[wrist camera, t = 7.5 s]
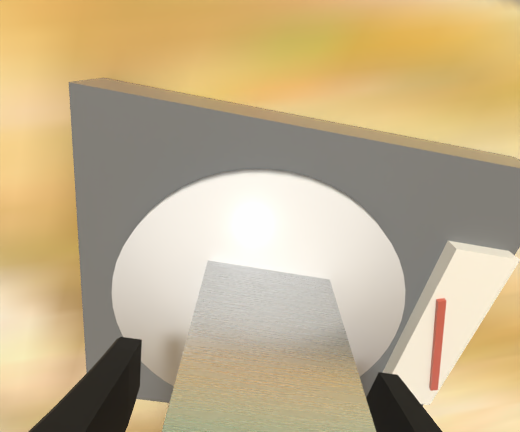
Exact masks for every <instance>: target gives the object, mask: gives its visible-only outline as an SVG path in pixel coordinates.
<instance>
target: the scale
mask: <svg viewBox="0 0 520 432" xmlns="http://www.w3.org/2000/svg"><path fill="white" fill-rule="evenodd" d="M69 93H70V109H71V126H72V142H73V158H74V174H75V190H76V207H77V223H78V239H79V255H80V272H81V288H82V304H83V320H84V337H85V353H86V369H87V373H88V371H89V370H90V369H91V368H92V367H93V366H94V365H95V364H96V363H97V362H98V360H99V359H100V358H101V357H102V356H103V355H104V354H105V352H106V351H107V350H108V349H109V348H110V347H111V345H112V344H113V343H114V342H115V341H116V339H118V338H119V337H126V338H134V339H141V340H142V347H141V372H140V388H139V391H138V395H137V398H136V399H142V400H150V401H159V402H167V403H170V399H171V395H172V392H173V388H174V384H175V381H176V377H177V373H178V369H179V366H180V362H181V358H182V355H183V351H184V347H185V343H186V340H187V336H188V332H189V329H190V325H191V321H192V317H193V314H194V310H195V306H196V302H197V299H198V295H199V291H200V288H201V284H202V280H203V276H204V273H205V269H206V265H207V262H208V260H209V261H216V262H222V263H228V264H235V265H241V266H247V267H254V268H260V269H266V270H273V271H279V272H285V273H292V274H298V275H304V276H311V277H317V278H323V279H330V282H331V285H332V289H333V292H334V295H335V298H336V302H337V305H338V308H339V312H340V315H341V318H342V321H343V325H344V328H345V331H346V334H347V338H348V341H349V344H350V347H351V351H352V354H353V357H354V360H355V364H356V367H357V370H358V374H359V377H360V380H361V383H362V387H363V390H364V393H365V396H366V397H367V395H368V393H369V391H370V389H371V387H372V385H373V383H374V381H375V379H376V377H377V375H378V373H379V372H382V373H389V374H396V375H398V376H399V377H400V378H401V379H402V381H403V382H404V383H405V384H406V386H407V387H408V388H409V390H410V391H411V392H412V393H413V395H414V396H415V397H416V399H417V400H418V401H419V403H420V404H421V405H422V406H423V404H426V405H430V404H431V402H432V401H433V399H434V397H435V396H436V394H437V393H438V391H439V389H440V388H441V386H442V385H443V383H444V381H445V380H446V378H447V376H448V375H449V373H450V372H451V370H452V368H453V367H454V365H455V364H456V362H457V360H458V359H459V357H460V356H461V354H462V352H463V351H464V349H465V348H466V346H467V344H468V343H469V341H470V340H471V338H472V336H473V335H474V333H475V332H476V330H477V328H478V327H479V325H480V324H481V322H482V320H483V319H484V317H485V316H486V314H487V312H488V311H489V309H490V308H491V306H492V304H493V303H494V301H495V299H496V298H497V296H498V295H499V293H500V291H501V290H502V288H503V287H504V285H505V283H506V282H507V280H508V279H509V277H510V275H511V274H512V272H513V271H514V269H515V267H516V266H517V264H518V263H519V261H520V259H519V258H517V257H516V256H515V253H516V252H517V250H518V249H519V247H520V160H519V159H517V158H514V157H511V156H505V155H500V154H495V153H490V152H485V151H479V150H474V149H469V148H464V147H459V146H454V145H448V144H443V143H438V142H433V141H428V140H423V139H417V138H412V137H407V136H402V135H397V134H392V133H386V132H381V131H376V130H371V129H366V128H361V127H355V126H350V125H345V124H340V123H335V122H330V121H324V120H319V119H314V118H309V117H304V116H298V115H293V114H288V113H283V112H278V111H273V110H267V109H262V108H257V107H252V106H247V105H242V104H236V103H231V102H226V101H221V100H216V99H211V98H205V97H200V96H195V95H190V94H185V93H180V92H174V91H169V90H164V89H159V88H154V87H149V86H143V85H138V84H133V83H128V82H123V81H118V80H112V79H107V78H99V79H90V80H82V81H74V82H69Z"/></svg>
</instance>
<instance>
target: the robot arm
mask: <svg viewBox="0 0 520 432" xmlns="http://www.w3.org/2000/svg"><path fill="white" fill-rule="evenodd" d="M141 347H142V340H141V339H134V338H126V337H119V338H118V339H116V341H115V342H114V343H113V344H112V345H111V347H110V348H109V349H108V350H107V351H106V352H105V354H104V355H103V356H102V357H101V358H100V359H99V360H98V362H97V363H96V364H95V365H94V366H93V367H92V368H91V369H90V370H89V371H88V373H87V374H86V375H85V376H84V377H83V378H82V379H81V380H80V381H79V382H78V383H77V384H76V385H75V386H74V387H73V388H72V389H71V390H70V391H69V393H68V394H67V395H66V396H65V397H64V398H63V399H62V400H61V401H60V402H59V403H58V404H57V405H56V406H55V407H54V408H53V409H52V410H51V411H50V412H49V413H48V414H47V415H46V416H44V417H43V418H42V419H41V420H40V421H39V422H38V423H37V424H36V425H35V426H34V427H33V428H32V429H31V430H30V431H29V432H125V431H126V428H127V426H128V423H129V420H130V417H131V414H132V411H133V407H134V404H135V401H136V398H137V395H138V391H139V388H140V372H141ZM366 400H367V403H368V406H369V409H370V413H371V416H372V419H373V423H374V426H375V429H376V432H442V431H441V430H440V428H439V427H438V426H437V424H436V423H435V422H434V421H433V419H432V418H431V417H430V415H429V414H428V413H427V412H426V410H425V409H424V408H423V406H422V405H421V404H420V403H419V401H418V400H417V399H416V397H415V396H414V395H413V393H412V392H411V391H410V390H409V388H408V387H407V386H406V384H405V383H404V382H403V381H402V379H401V378H400V377H399V376H398V375H396V374H389V373H382V372H379V373H378V375H377V377H376V379H375V381H374V383H373V385H372V387H371V389H370V391H369V393H368V395H367V397H366Z"/></svg>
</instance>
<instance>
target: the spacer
mask: <svg viewBox="0 0 520 432" xmlns="http://www.w3.org/2000/svg"><path fill="white" fill-rule="evenodd" d="M162 432H376V429H375V426H374V423H373V419H372V416H371V413H370V409H369V406H368V403H367V400H366V396H365V393H364V390H363V387H362V383H361V380H360V377H359V374H358V370H357V367H356V364H355V360H354V357H353V354H352V351H351V347H350V344H349V341H348V338H347V334H346V331H345V328H344V325H343V321H342V318H341V315H340V312H339V308H338V305H337V302H336V298H335V295H334V292H333V289H332V285H331V282H330V279H323V278H317V277H311V276H304V275H298V274H292V273H285V272H279V271H273V270H266V269H260V268H254V267H247V266H241V265H235V264H228V263H222V262H216V261H209V260H208V262H207V265H206V269H205V273H204V276H203V280H202V284H201V288H200V291H199V295H198V299H197V302H196V306H195V310H194V314H193V317H192V321H191V325H190V329H189V332H188V336H187V340H186V343H185V347H184V351H183V355H182V358H181V362H180V366H179V369H178V373H177V377H176V381H175V384H174V388H173V392H172V395H171V399H170V403H169V407H168V410H167V414H166V418H165V421H164V425H163V429H162Z"/></svg>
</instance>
